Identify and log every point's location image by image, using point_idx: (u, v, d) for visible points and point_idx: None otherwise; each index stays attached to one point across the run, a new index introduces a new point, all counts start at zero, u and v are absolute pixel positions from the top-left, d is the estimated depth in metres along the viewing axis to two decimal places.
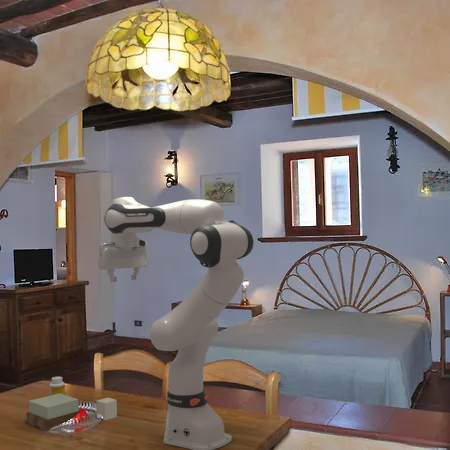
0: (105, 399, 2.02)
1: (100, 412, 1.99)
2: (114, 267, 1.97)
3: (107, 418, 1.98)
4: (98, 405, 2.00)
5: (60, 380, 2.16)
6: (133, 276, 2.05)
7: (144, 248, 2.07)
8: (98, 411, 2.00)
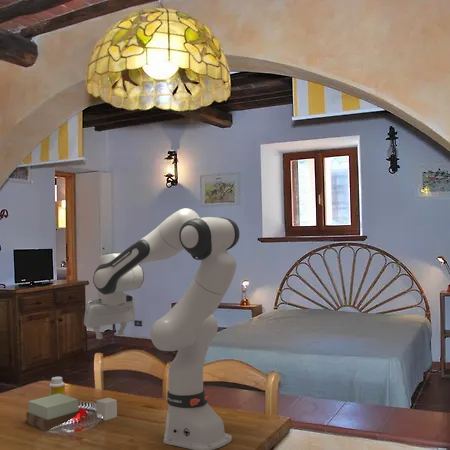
0: (105, 399, 2.02)
1: (100, 412, 1.99)
2: (100, 324, 1.96)
3: (107, 418, 1.98)
4: (98, 405, 2.00)
5: (60, 380, 2.16)
6: (119, 331, 2.05)
7: (131, 303, 2.06)
8: (98, 411, 2.00)
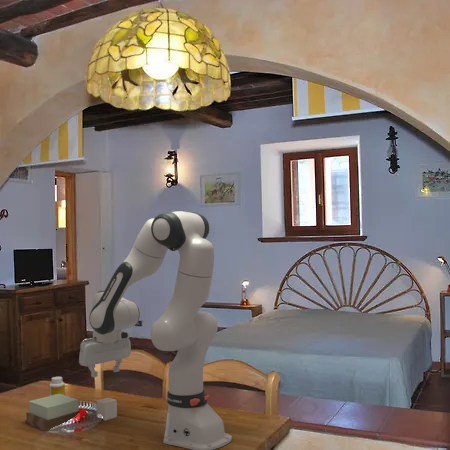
0: (105, 399, 2.02)
1: (100, 412, 1.99)
2: (95, 363, 1.96)
3: (107, 418, 1.98)
4: (98, 405, 2.00)
5: (60, 380, 2.16)
6: (115, 368, 2.04)
7: (126, 339, 2.05)
8: (98, 411, 2.00)
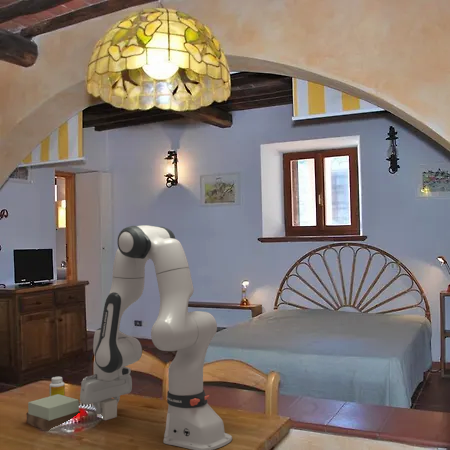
0: None
1: None
2: (96, 400, 1.96)
3: (107, 418, 1.98)
4: None
5: (60, 380, 2.16)
6: None
7: (127, 375, 2.05)
8: None
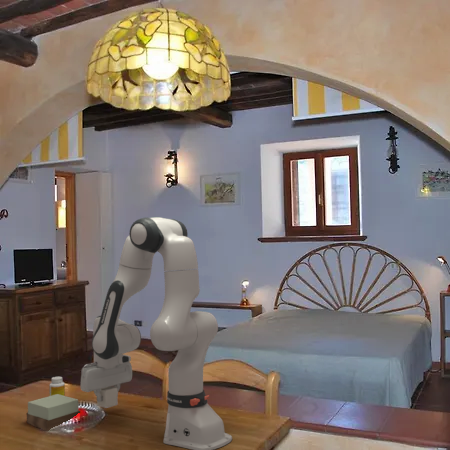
0: None
1: None
2: (97, 388, 1.95)
3: (108, 406, 1.98)
4: None
5: (60, 380, 2.16)
6: None
7: (127, 363, 2.05)
8: None
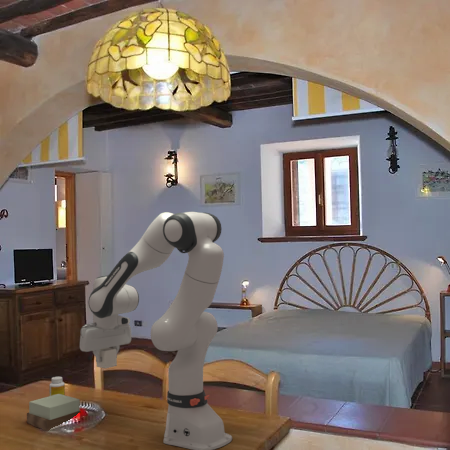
0: (105, 348, 2.02)
1: None
2: (96, 348, 1.96)
3: (107, 366, 1.98)
4: None
5: (60, 380, 2.16)
6: None
7: (127, 325, 2.05)
8: None
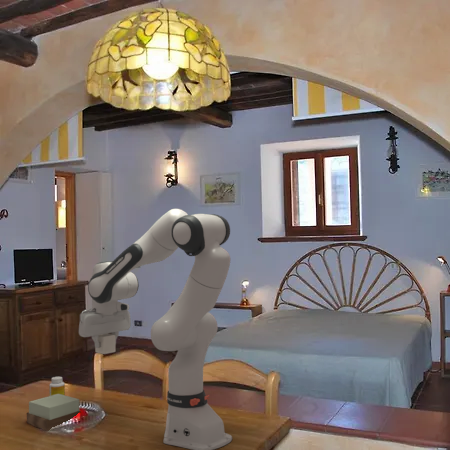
0: (104, 334, 2.02)
1: None
2: (95, 334, 1.96)
3: (106, 352, 1.98)
4: None
5: (60, 380, 2.16)
6: None
7: (126, 312, 2.05)
8: None
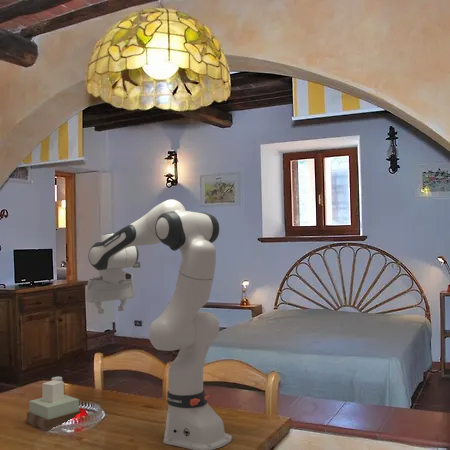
0: (51, 381, 1.98)
1: (46, 395, 1.95)
2: (101, 300, 2.10)
3: (54, 400, 1.94)
4: (44, 388, 1.95)
5: (60, 380, 2.16)
6: (120, 307, 2.18)
7: (130, 281, 2.20)
8: (44, 394, 1.95)
